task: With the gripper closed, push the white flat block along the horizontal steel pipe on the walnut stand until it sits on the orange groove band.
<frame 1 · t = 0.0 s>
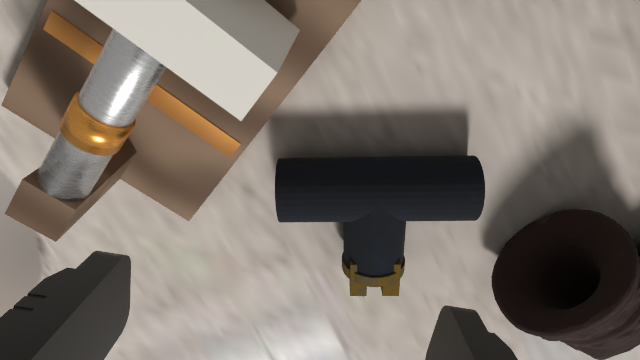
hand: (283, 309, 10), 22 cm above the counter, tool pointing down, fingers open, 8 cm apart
pipe connector: (371, 206, 36), on the counter
steel pipe: (122, 81, 22), point 8 cm above the counter
pipe stand: (176, 52, 29), on the counter
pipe: (592, 257, 37), on the counter
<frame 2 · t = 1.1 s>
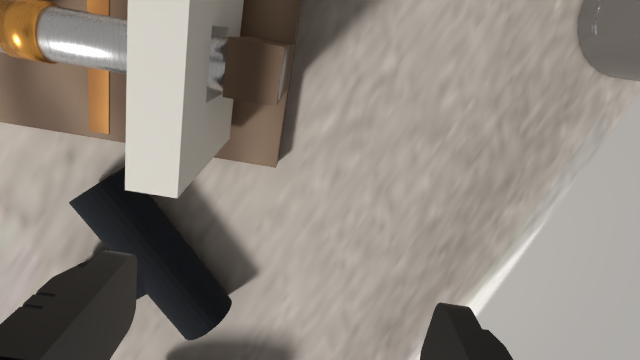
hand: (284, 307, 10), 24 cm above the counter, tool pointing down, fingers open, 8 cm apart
white flat block: (195, 59, 23), point 9 cm above the counter, slide at 0.0 cm
pipe connector: (139, 255, 38), on the counter
steel pipe: (89, 40, 23), point 8 cm above the counter
pipe stand: (148, 39, 31), on the counter
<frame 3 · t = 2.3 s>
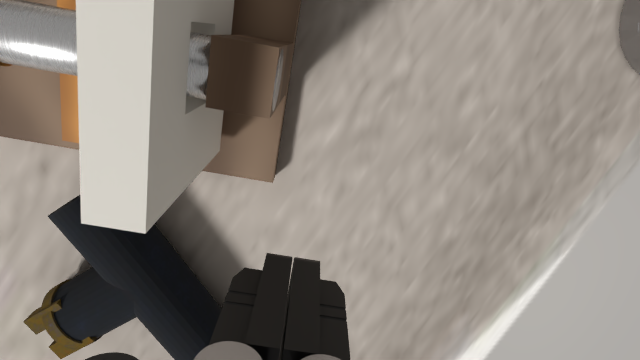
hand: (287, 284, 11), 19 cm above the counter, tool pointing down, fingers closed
white flat block: (175, 61, 20), point 8 cm above the counter, slide at 0.0 cm
pipe connector: (130, 272, 34), on the counter
steel pipe: (48, 38, 19), point 8 cm above the counter
pipe stand: (129, 37, 27), on the counter
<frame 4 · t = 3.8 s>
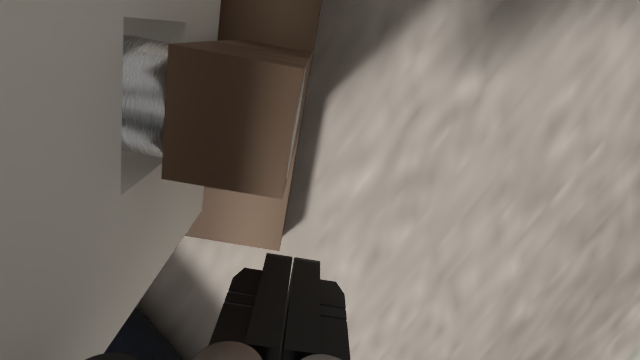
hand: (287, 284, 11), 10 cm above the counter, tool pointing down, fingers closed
white flat block: (109, 90, 11), point 8 cm above the counter, slide at 0.0 cm
pipe connector: (96, 351, 25), on the counter
pipe stand: (68, 42, 18), on the counter
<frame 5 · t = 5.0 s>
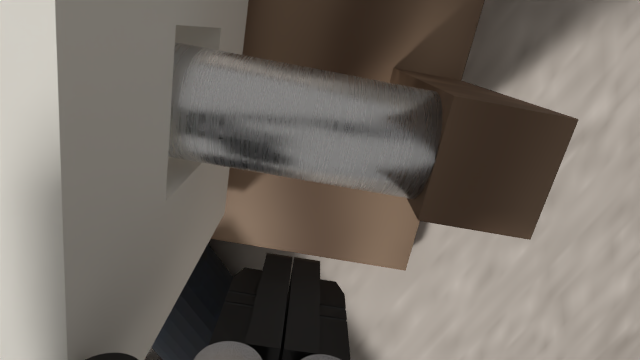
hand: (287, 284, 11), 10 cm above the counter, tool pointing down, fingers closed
white flat block: (149, 96, 11), point 9 cm above the counter, slide at 5.5 cm, touching hand
steel pipe: (129, 92, 11), point 8 cm above the counter
pipe stand: (211, 68, 19), on the counter
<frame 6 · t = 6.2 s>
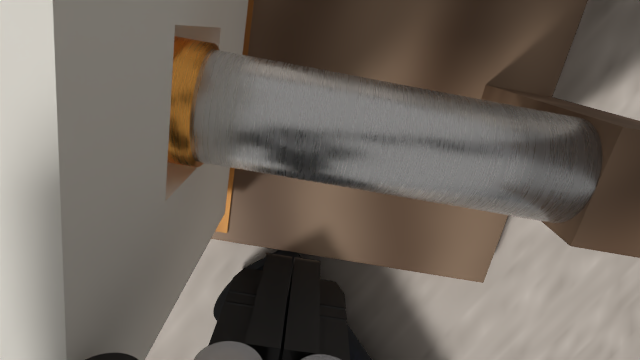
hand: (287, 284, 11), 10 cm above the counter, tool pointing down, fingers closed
white flat block: (149, 96, 11), point 8 cm above the counter, slide at 9.5 cm, touching hand
steel pipe: (280, 120, 11), point 8 cm above the counter
pipe stand: (298, 84, 19), on the counter
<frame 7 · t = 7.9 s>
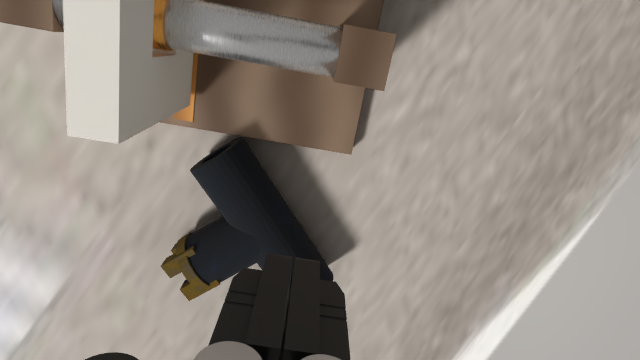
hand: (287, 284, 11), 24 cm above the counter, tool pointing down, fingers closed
white flat block: (145, 17, 24), point 9 cm above the counter, slide at 9.6 cm
pipe connector: (240, 228, 39), on the counter
steel pipe: (205, 28, 24), point 8 cm above the counter
pipe stand: (233, 30, 32), on the counter
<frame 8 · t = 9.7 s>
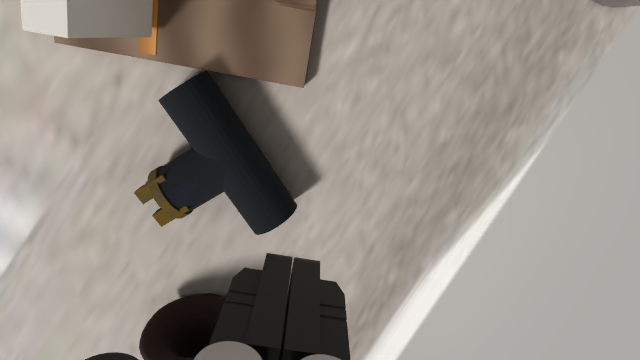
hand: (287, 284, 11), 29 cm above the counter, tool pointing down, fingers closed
pipe connector: (211, 164, 41), on the counter
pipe: (232, 345, 49), on the counter
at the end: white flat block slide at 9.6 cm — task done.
